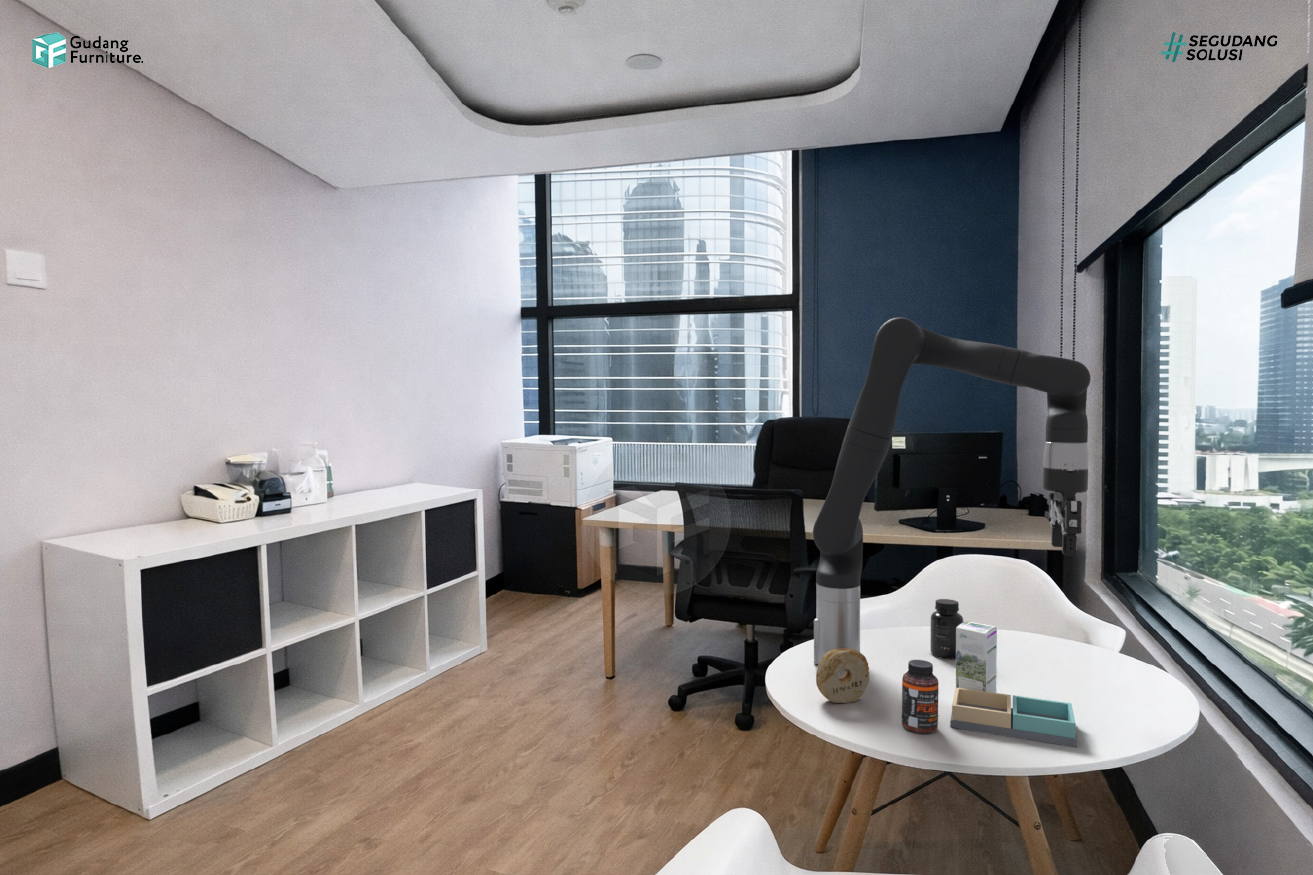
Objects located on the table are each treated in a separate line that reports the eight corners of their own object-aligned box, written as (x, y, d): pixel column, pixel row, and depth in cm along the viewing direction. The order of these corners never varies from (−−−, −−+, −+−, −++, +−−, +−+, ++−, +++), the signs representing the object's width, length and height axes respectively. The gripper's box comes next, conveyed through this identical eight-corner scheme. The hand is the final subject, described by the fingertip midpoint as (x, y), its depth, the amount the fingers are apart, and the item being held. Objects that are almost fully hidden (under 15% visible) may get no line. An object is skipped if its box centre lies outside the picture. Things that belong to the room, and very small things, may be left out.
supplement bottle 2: (969, 658, 166) (970, 604, 166) (942, 660, 165) (942, 606, 164) (950, 648, 173) (951, 596, 172) (924, 651, 171) (924, 598, 171)
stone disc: (861, 694, 146) (861, 642, 146) (871, 701, 142) (871, 648, 142) (812, 700, 143) (812, 647, 143) (821, 707, 140) (821, 654, 139)
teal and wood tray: (950, 726, 131) (950, 705, 130) (954, 706, 140) (954, 686, 139) (1077, 747, 122) (1077, 724, 122) (1072, 723, 131) (1072, 702, 131)
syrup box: (997, 701, 141) (998, 625, 141) (986, 711, 137) (986, 632, 137) (966, 694, 145) (967, 619, 145) (954, 703, 141) (954, 626, 140)
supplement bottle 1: (918, 737, 127) (918, 670, 126) (894, 724, 132) (894, 660, 132) (945, 731, 129) (946, 665, 128) (920, 718, 134) (921, 655, 134)
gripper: (1035, 462, 151) (1033, 543, 152) (1052, 468, 138) (1050, 557, 138) (1077, 463, 149) (1075, 545, 150) (1098, 469, 136) (1096, 559, 136)
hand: (1063, 550), depth 144 cm, fingers open, 8 cm apart
